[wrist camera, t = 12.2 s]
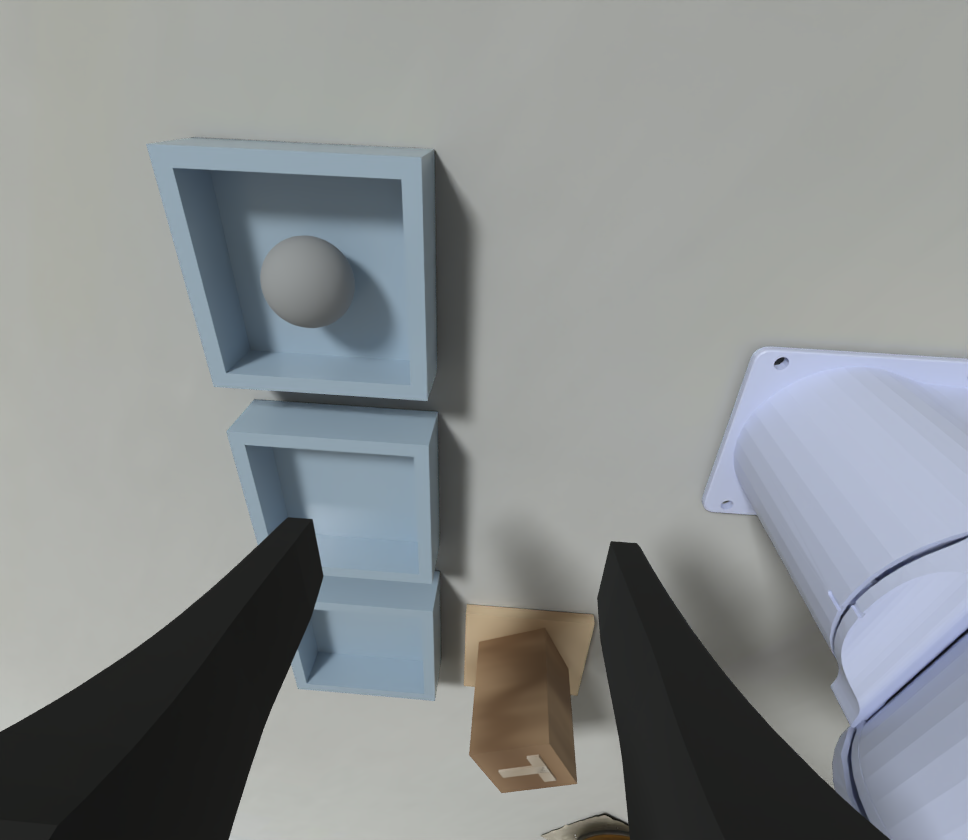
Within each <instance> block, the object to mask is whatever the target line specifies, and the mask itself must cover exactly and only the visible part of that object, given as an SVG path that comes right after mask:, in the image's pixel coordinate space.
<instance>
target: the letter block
mask: <svg viewBox="0 0 968 840" xmlns="http://www.w3.org/2000/svg"><path fill="white" fill-rule="evenodd" d="M469 755H470V757H471V758H472V759H473V760H474V761H475V762H476V764H477V765H478V766H479V767H480V768H481V769H482V771H483V772H484V773H485V774H486V775H487V776H488V778H489V779H490V780H491V781H492V782H493V784H494V785H495V786H496V787H497V788H498V789H499V791H500V792H501V793H506V792H514V791H522V790H531V789H539V788H547V787H555V786H564V785H572V784H577V776H576V763H575V750H574V736H573V723H572V709H571V696H570V683H569V669H568V667H567V665H566V663H565V662H564V660H563V658H562V657H561V655H560V653H559V651H558V650H557V648H556V646H555V644H554V643H553V641H552V639H551V637H550V636H549V634H548V632H547V630H546V629H545V628H542V629H537V630H532V631H528V632H523V633H518V634H513V635H508V636H504V637H499V638H494V639H489V640H485V641H480V642H479V646H478V658H477V669H476V681H475V693H474V705H473V717H472V729H471V740H470V752H469Z"/></svg>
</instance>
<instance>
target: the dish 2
mask: <svg viewBox="0 0 968 840" xmlns="http://www.w3.org/2000/svg"><path fill="white" fill-rule="evenodd" d="M226 432H227V435H228V439H229V443H230V446H231V450H232V453H233V457H234V461H235V464H236V468H237V471H238V475H239V478H240V482H241V486H242V489H243V493H244V496H245V500H246V504H247V507H248V511H249V514H250V518H251V522H252V525H253V529H254V532H255V536H256V539H257V543H258V545H259V544H260V543H261V542H262V541H263V540H264V539H265V538H266V537H267V536H268V535H269V534H270V533H271V532H272V531H274V530H275V529H276V528H277V527H278V526H279V525H280V524H281V523H282V522H283V521H284V520H285V519H286V518H288V517H293V518H306V519H313V524H314V529H315V534H316V539H317V544H318V550H319V555H320V560H321V565H322V571H323V575H324V576H337V577H349V578H362V579H374V580H387V581H400V582H412V583H425V584H432V582H433V577H434V572H435V566H436V561H437V556H438V550H439V545H440V540H439V463H438V412H435V411H420V410H405V409H390V408H375V407H360V406H345V405H330V404H316V403H301V402H286V401H271V400H256V399H254V400H253V402H252V403H251V404H250V405H249V406H248V407H247V408H246V410H245V411H244V412H243V413H242V414H241V415H240V416H239V418H238V419H237V420H236V421H235V422H234V423H233V424H232V425H231V427H230V428H229V429H228V430H227V431H226Z"/></svg>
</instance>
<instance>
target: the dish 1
mask: <svg viewBox="0 0 968 840" xmlns="http://www.w3.org/2000/svg"><path fill="white" fill-rule="evenodd" d="M146 145H147V148H148V152H149V156H150V159H151V163H152V166H153V170H154V174H155V177H156V181H157V184H158V188H159V191H160V195H161V199H162V202H163V206H164V209H165V213H166V217H167V220H168V224H169V227H170V231H171V235H172V238H173V242H174V245H175V249H176V252H177V256H178V260H179V263H180V267H181V270H182V274H183V278H184V281H185V285H186V288H187V292H188V296H189V299H190V303H191V306H192V310H193V313H194V317H195V321H196V324H197V328H198V331H199V335H200V339H201V342H202V346H203V349H204V353H205V356H206V360H207V364H208V367H209V371H210V374H211V378H212V382H213V385H214V387H226V388H241V389H256V390H271V391H286V392H301V393H316V394H331V395H346V396H361V397H376V398H391V399H406V400H421V401H428V398H429V395H430V391H431V388H432V385H433V382H434V379H435V376H436V372H437V309H436V232H435V155H434V149H425V148H404V147H383V146H363V145H342V144H322V143H301V142H280V141H260V140H239V139H218V138H198V137H191V138H184V139H177V140H170V141H163V142H156V143H149V144H146ZM306 235H307V236H314V237H318V238H321V239H323V240H326V241H327V242H329V243H331V244H332V245H334V246H335V247H336V248H338V249H339V250H340V251H341V252H342V253H343V255H344V256H345V257H346V259H347V260H348V262H349V264H350V266H351V268H352V271H353V274H354V280H355V292H354V296H353V300H352V303H351V305H350V307H349V308H348V310H347V311H346V313H345V314H344V315H343V316H342V317H341V318H339V319H338V320H337V321H335V322H334V323H332V324H329V325H327V326H324V327H319V328H304V327H299V326H296V325H293V324H290V323H288V322H287V321H285V320H283V319H282V318H281V317H279V316H278V315H277V314H276V313H275V312H274V311H273V310H272V309H271V307H270V306H269V305H268V303H267V301H266V299H265V297H264V295H263V292H262V288H261V282H260V274H261V268H262V264H263V261H264V259H265V257H266V256H267V254H268V253H269V251H270V250H271V249H272V248H273V247H274V246H275V245H277V244H278V243H279V242H281V241H283V240H285V239H287V238H290V237H294V236H306Z"/></svg>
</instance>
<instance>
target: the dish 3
mask: <svg viewBox="0 0 968 840" xmlns="http://www.w3.org/2000/svg"><path fill="white" fill-rule="evenodd" d="M323 576H324V575H323ZM440 664H441V617H440V572H439V571H435V572H434V577H433V582H432V584H425V583H412V582H400V581H387V580H374V579H362V578H349V577H337V576H324V577H323V580H322V584H321V587H320V591H319V594H318V598H317V601H316V604H315V607H314V611H313V614H312V617H311V619H310V622H309V624H308V626H307V629H306V631H305V633H304V636H303V638H302V640H301V643H300V645H299V647H298V649H297V652H296V654H295V656H294V659H293V661H292V663H291V665H292V669H293V672H294V676H295V679H296V683H297V687H298V689H306V690H318V691H329V692H340V693H352V694H363V695H374V696H386V697H397V698H408V699H420V700H431V701H435V698H436V691H437V685H438V678H439V671H440Z"/></svg>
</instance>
